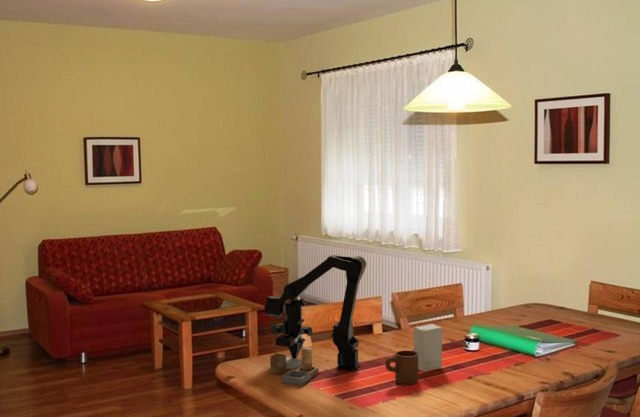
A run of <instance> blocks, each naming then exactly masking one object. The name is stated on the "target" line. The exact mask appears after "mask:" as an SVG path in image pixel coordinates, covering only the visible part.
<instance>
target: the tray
mask: <svg viewBox="0 0 640 417" xmlns="http://www.w3.org/2000/svg"><path fill="white" fill-rule="evenodd" d="M281 377H282V378H281V381H282V382H281V383H282V384H283V385H284V384H285V385H291V386H296V385H297V386H298V387H302V386H304V385H305V384H307V383H308V382H310V381H311V380H312V378H311V372H304V371H296V369H290V370H289V371H288V372H285V373H284V374H282V375H281ZM297 386H296V387H297Z"/></svg>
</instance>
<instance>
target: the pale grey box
mask: <svg viewBox="0 0 640 417" xmlns="http://www.w3.org/2000/svg"><path fill="white" fill-rule="evenodd" d="M301 366H302V359H299V358H296V359H295V358H292V357H287V356H286V369H288V368H289V370H296V369H298V368H299V367H301Z"/></svg>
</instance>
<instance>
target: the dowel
mask: <svg viewBox="0 0 640 417" xmlns="http://www.w3.org/2000/svg"><path fill="white" fill-rule="evenodd" d="M300 352H301V354H300V355H301V360H302V365H301V366H302V371H309V372H311V371H312V367H313V348H312V347H308V346H307V347H301V349H300Z"/></svg>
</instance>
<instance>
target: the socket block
mask: <svg viewBox="0 0 640 417" xmlns="http://www.w3.org/2000/svg"><path fill="white" fill-rule="evenodd" d="M319 369H320V368H319V367H318V366H312V371H311V379H312V378H314V377H315V376H316V375H317V374H319V371H320V370H319ZM295 370H296V371H302V365H301V366H299V367H297V368H295ZM304 372H309V371H304Z"/></svg>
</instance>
